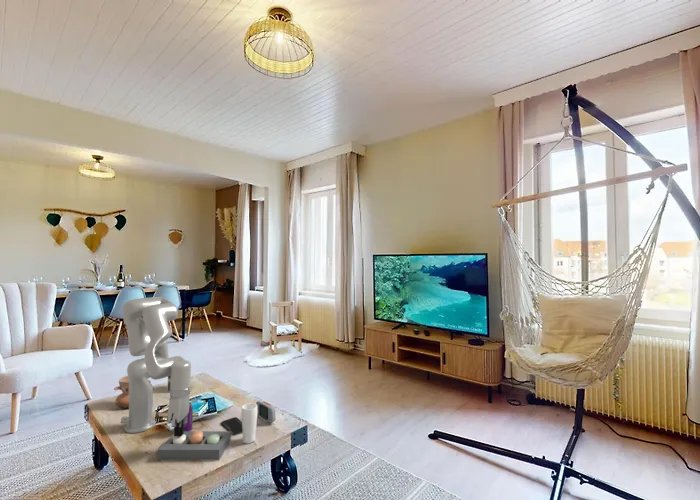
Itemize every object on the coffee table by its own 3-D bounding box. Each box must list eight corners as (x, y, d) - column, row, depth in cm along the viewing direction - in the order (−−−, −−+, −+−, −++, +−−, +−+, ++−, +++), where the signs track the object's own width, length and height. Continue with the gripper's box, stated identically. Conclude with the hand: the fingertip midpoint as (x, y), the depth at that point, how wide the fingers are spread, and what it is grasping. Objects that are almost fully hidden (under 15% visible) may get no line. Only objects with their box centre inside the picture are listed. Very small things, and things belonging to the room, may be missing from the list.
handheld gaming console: (254, 415, 172) (254, 400, 172) (259, 413, 175) (259, 398, 175) (271, 425, 163) (272, 408, 163) (276, 423, 165) (277, 406, 165)
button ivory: (170, 449, 140) (170, 440, 140) (176, 442, 144) (176, 434, 144) (182, 449, 140) (182, 440, 140) (187, 442, 144) (187, 434, 144)
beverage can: (195, 428, 159) (196, 402, 159) (184, 436, 152) (185, 409, 153) (183, 426, 161) (183, 400, 161) (171, 433, 154) (172, 407, 154)
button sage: (205, 449, 140) (205, 440, 140) (209, 442, 145) (209, 434, 145) (216, 449, 140) (217, 440, 140) (221, 442, 145) (221, 434, 145)
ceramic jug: (118, 414, 172) (119, 385, 172) (108, 405, 181) (109, 378, 181) (156, 402, 186) (157, 376, 187) (144, 395, 195) (146, 370, 196)
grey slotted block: (158, 459, 135) (158, 449, 135) (175, 440, 149) (175, 431, 149) (219, 459, 135) (219, 449, 135) (230, 440, 149) (230, 431, 149)
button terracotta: (187, 446, 140) (188, 437, 140) (193, 439, 144) (193, 430, 145) (199, 446, 140) (199, 437, 140) (204, 439, 145) (204, 430, 145)
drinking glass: (238, 440, 150) (238, 406, 150) (252, 434, 154) (252, 401, 155) (245, 446, 145) (246, 411, 145) (259, 440, 150) (260, 406, 150)
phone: (236, 416, 170) (249, 428, 158) (236, 419, 170) (249, 430, 158) (220, 421, 164) (233, 434, 153) (220, 424, 164) (233, 436, 153)
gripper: (179, 384, 150) (178, 425, 150) (161, 399, 135) (160, 445, 135) (196, 384, 150) (195, 426, 150) (180, 399, 135) (179, 445, 135)
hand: (178, 435), depth 142 cm, fingers closed
